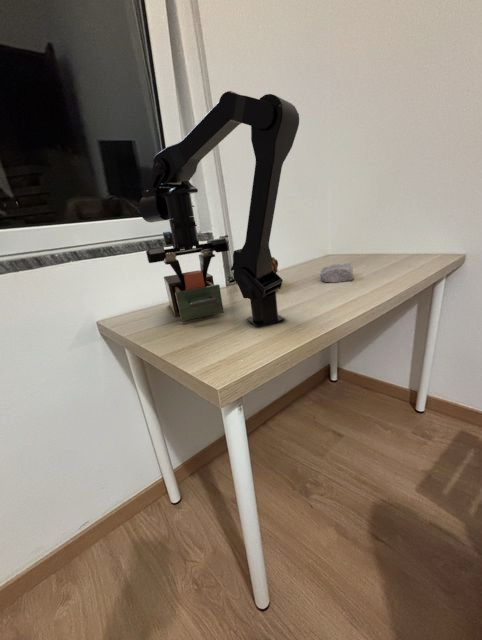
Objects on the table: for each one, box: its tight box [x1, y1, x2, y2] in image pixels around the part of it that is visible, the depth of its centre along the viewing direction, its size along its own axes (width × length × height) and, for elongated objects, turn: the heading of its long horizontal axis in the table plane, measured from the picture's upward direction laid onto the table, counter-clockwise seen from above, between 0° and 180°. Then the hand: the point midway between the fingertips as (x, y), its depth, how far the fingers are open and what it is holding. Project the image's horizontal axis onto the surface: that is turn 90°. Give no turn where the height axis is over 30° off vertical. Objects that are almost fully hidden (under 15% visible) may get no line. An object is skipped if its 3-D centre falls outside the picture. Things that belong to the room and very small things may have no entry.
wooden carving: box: [272, 256, 279, 274], centre depth 97 cm, size 16×5×10 cm, turn 0°
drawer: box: [173, 280, 225, 322], centre depth 76 cm, size 17×10×7 cm, turn 19°
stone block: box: [319, 263, 354, 283], centre depth 99 cm, size 12×5×10 cm
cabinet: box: [163, 269, 215, 317], centre depth 86 cm, size 14×12×9 cm
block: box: [182, 269, 205, 290], centre depth 75 cm, size 4×4×4 cm
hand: (194, 286), depth 75 cm, fingers closed on block, 4 cm apart
